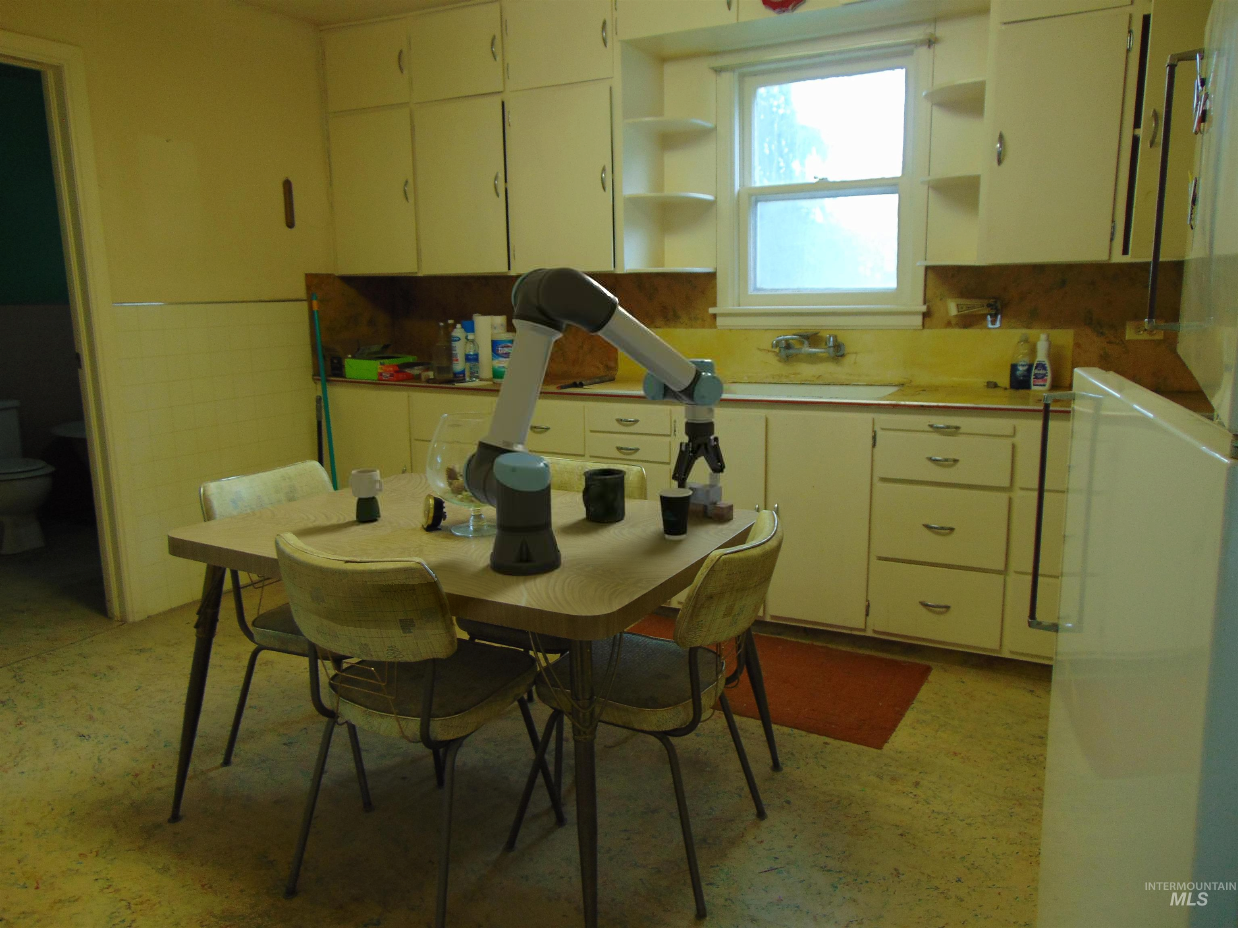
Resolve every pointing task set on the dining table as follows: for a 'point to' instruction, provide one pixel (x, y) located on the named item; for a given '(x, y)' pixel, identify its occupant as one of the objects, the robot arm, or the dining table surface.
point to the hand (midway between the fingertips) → (699, 502)
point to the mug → (604, 494)
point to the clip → (705, 495)
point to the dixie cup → (675, 512)
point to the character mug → (366, 493)
